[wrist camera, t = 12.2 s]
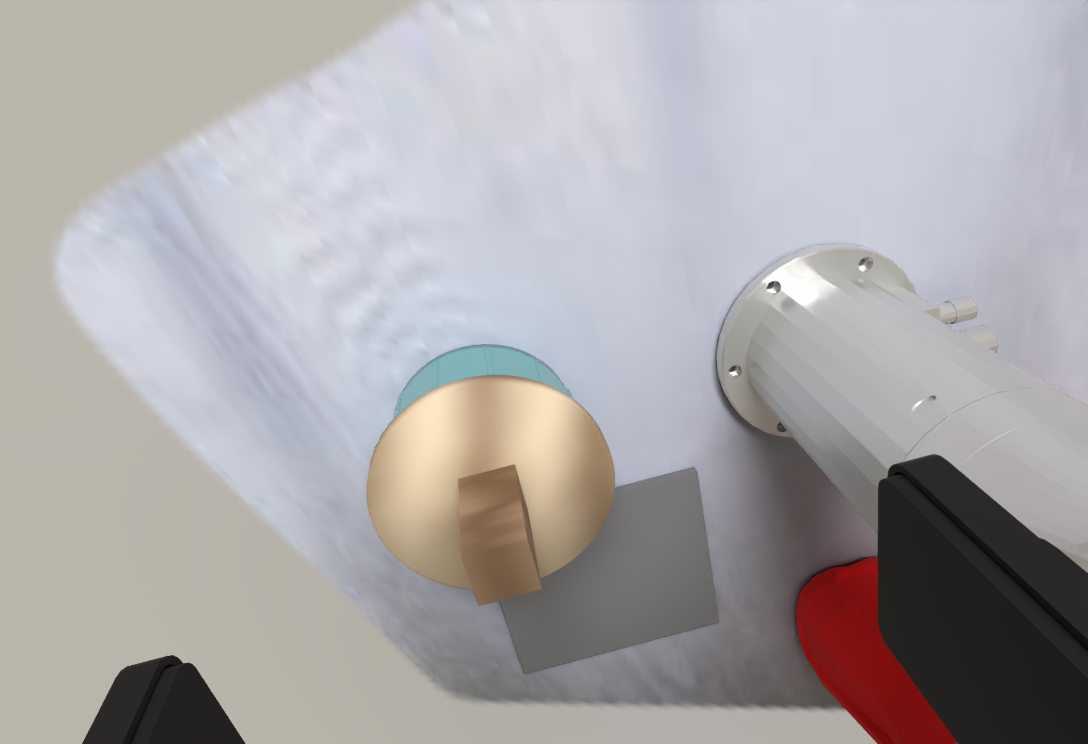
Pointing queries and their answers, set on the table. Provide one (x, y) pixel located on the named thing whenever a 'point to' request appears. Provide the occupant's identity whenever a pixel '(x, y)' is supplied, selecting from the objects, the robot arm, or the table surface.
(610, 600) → the mat
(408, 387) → the bowl
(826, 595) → the water bottle
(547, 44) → the table surface
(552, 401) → the lid
